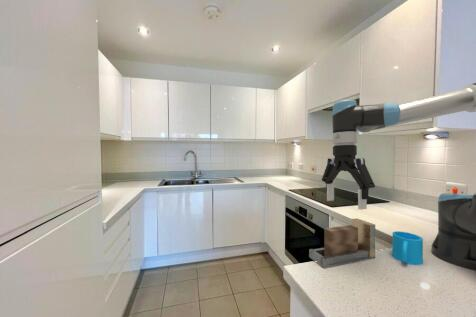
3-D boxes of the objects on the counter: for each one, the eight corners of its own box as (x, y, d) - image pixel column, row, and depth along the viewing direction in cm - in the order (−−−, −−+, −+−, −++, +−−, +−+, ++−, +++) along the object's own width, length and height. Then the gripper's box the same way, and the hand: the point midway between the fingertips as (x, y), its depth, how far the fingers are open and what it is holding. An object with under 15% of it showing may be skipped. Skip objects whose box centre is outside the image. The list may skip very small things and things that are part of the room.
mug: (394, 250, 75) (394, 229, 75) (423, 258, 69) (423, 235, 69) (388, 262, 67) (388, 238, 67) (421, 272, 61) (421, 246, 61)
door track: (356, 248, 77) (357, 218, 77) (375, 258, 70) (375, 224, 69) (309, 257, 70) (309, 223, 70) (324, 268, 63) (324, 231, 63)
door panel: (350, 251, 73) (350, 225, 73) (357, 255, 70) (358, 227, 70) (324, 256, 69) (324, 228, 69) (330, 260, 66) (330, 231, 66)
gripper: (312, 146, 81) (312, 198, 81) (369, 141, 57) (370, 214, 57) (327, 147, 83) (327, 197, 83) (388, 142, 59) (388, 212, 59)
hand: (345, 204), depth 70 cm, fingers open, 13 cm apart
